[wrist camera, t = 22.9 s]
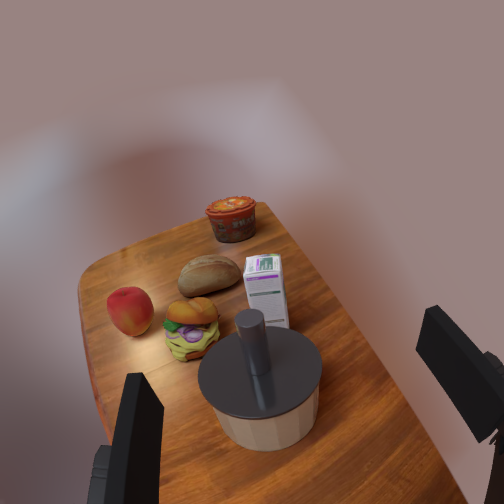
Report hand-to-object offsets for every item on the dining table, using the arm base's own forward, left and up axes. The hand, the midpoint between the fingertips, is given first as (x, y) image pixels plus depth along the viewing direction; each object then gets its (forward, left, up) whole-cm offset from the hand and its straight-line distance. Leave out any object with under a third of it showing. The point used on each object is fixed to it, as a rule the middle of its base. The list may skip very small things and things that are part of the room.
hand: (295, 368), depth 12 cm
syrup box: (+14, -28, -26) cm, 41 cm away
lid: (+9, -12, -16) cm, 22 cm away
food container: (+41, -69, -26) cm, 85 cm away
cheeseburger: (+27, -22, -26) cm, 44 cm away
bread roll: (+33, -39, -26) cm, 57 cm away
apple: (+41, -21, -26) cm, 53 cm away
